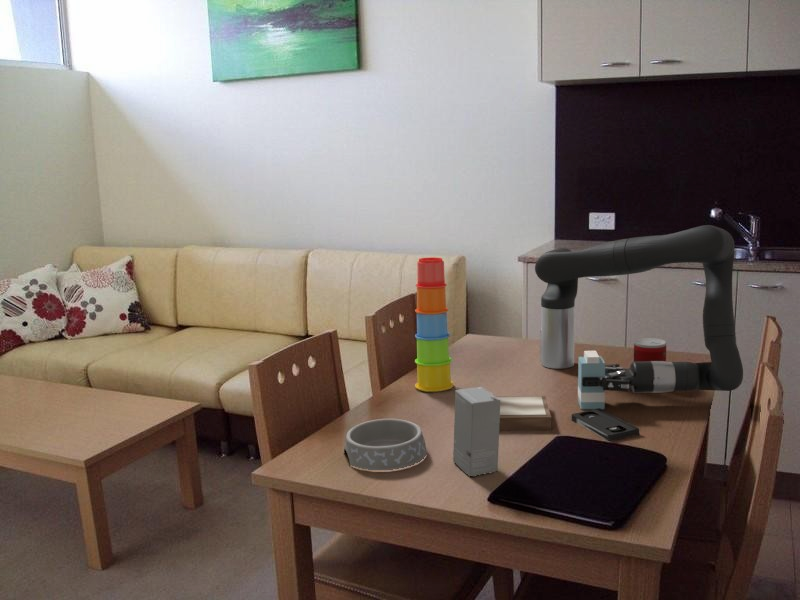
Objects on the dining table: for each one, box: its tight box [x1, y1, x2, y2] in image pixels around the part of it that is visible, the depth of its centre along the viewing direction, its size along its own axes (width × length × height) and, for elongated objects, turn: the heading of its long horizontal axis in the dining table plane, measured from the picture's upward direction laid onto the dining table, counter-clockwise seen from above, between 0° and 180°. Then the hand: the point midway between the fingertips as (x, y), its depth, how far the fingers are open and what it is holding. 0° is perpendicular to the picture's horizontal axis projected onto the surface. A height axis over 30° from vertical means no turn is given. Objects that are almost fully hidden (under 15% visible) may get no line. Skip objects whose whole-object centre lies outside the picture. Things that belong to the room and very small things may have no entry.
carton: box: [577, 350, 606, 410], centre depth 185 cm, size 6×6×13 cm
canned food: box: [633, 337, 667, 362], centre depth 200 cm, size 8×8×11 cm
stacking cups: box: [414, 257, 454, 393], centre depth 201 cm, size 10×10×35 cm
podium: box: [494, 395, 552, 431], centre depth 179 cm, size 14×14×3 cm
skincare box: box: [452, 386, 500, 477], centre depth 153 cm, size 8×7×16 cm
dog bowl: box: [343, 418, 428, 470], centre depth 163 cm, size 17×18×5 cm
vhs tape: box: [571, 408, 640, 442], centre depth 172 cm, size 14×8×2 cm, turn 22°
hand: (580, 377), depth 185 cm, fingers closed on carton, 5 cm apart
